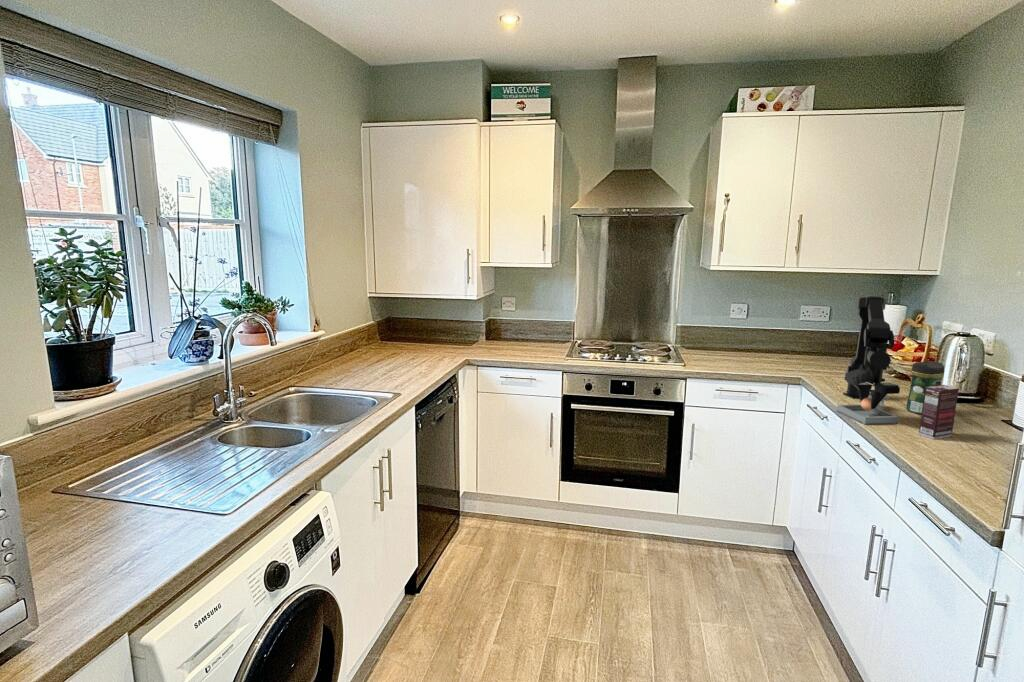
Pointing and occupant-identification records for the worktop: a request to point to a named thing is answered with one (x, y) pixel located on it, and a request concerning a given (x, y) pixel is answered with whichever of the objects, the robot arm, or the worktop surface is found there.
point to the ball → (866, 404)
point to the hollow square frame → (880, 402)
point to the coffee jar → (923, 383)
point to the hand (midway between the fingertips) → (867, 406)
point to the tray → (867, 415)
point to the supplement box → (938, 411)
